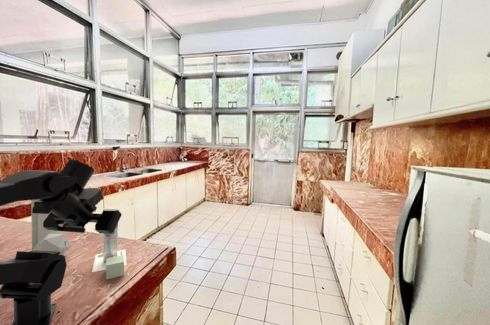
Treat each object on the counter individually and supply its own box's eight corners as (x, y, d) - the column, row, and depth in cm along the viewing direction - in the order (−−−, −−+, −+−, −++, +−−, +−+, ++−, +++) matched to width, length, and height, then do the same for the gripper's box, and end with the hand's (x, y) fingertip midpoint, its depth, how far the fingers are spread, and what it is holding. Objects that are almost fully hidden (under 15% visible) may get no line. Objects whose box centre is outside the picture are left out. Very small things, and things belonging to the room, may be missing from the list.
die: (39, 270, 65) (63, 242, 67) (20, 253, 66) (44, 226, 69) (60, 265, 73) (81, 240, 75) (43, 250, 74) (64, 226, 77)
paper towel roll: (65, 246, 79) (64, 189, 78) (45, 253, 73) (45, 192, 72) (51, 243, 81) (50, 188, 80) (31, 250, 75) (30, 190, 74)
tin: (117, 261, 70) (118, 224, 69) (102, 264, 68) (102, 226, 67) (117, 255, 74) (118, 220, 73) (103, 258, 72) (103, 222, 71)
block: (124, 276, 63) (124, 261, 62) (105, 280, 60) (105, 265, 60) (123, 268, 67) (123, 254, 66) (106, 272, 64) (106, 258, 64)
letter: (126, 265, 68) (126, 265, 68) (92, 273, 63) (91, 272, 63) (125, 249, 78) (125, 249, 78) (95, 255, 74) (95, 254, 74)
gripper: (117, 182, 58) (138, 210, 70) (52, 178, 59) (84, 207, 71) (96, 219, 51) (124, 243, 63) (22, 215, 52) (63, 240, 63)
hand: (98, 232), depth 65 cm, fingers open, 9 cm apart
